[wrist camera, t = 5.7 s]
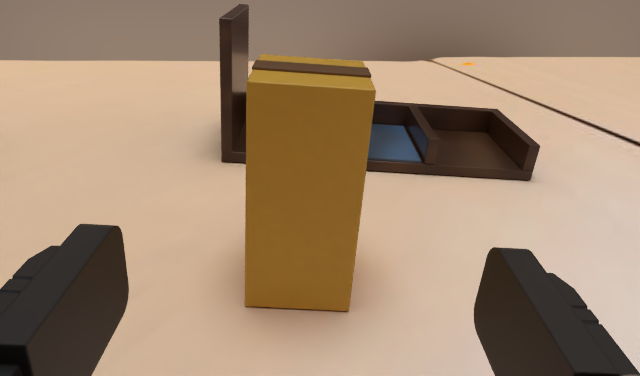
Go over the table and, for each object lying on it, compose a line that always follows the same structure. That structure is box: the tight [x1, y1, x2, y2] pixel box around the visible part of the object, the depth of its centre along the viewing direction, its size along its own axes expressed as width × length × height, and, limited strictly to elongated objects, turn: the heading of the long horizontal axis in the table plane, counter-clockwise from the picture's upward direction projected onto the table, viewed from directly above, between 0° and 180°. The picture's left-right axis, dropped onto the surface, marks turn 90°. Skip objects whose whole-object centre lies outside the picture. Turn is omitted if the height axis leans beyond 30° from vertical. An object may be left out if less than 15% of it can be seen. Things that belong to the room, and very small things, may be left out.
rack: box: [219, 4, 540, 180], centre depth 38 cm, size 23×9×10 cm, turn 91°
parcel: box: [245, 54, 376, 311], centre depth 22 cm, size 5×5×10 cm
